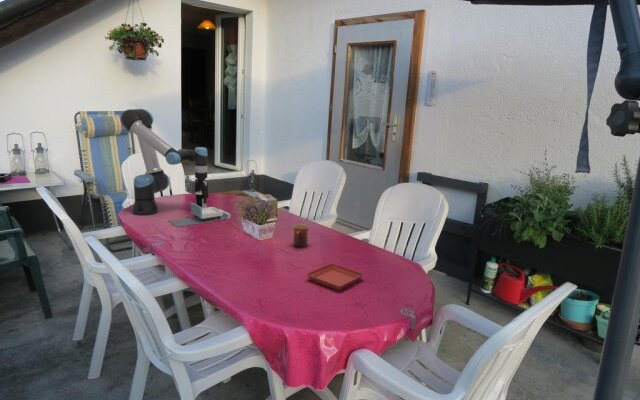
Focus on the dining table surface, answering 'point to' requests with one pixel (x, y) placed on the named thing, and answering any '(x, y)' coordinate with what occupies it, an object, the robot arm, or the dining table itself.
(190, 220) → the track
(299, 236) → the mug
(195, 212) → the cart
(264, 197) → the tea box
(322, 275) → the plant saucer
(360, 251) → the dining table surface
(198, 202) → the dixie cup
